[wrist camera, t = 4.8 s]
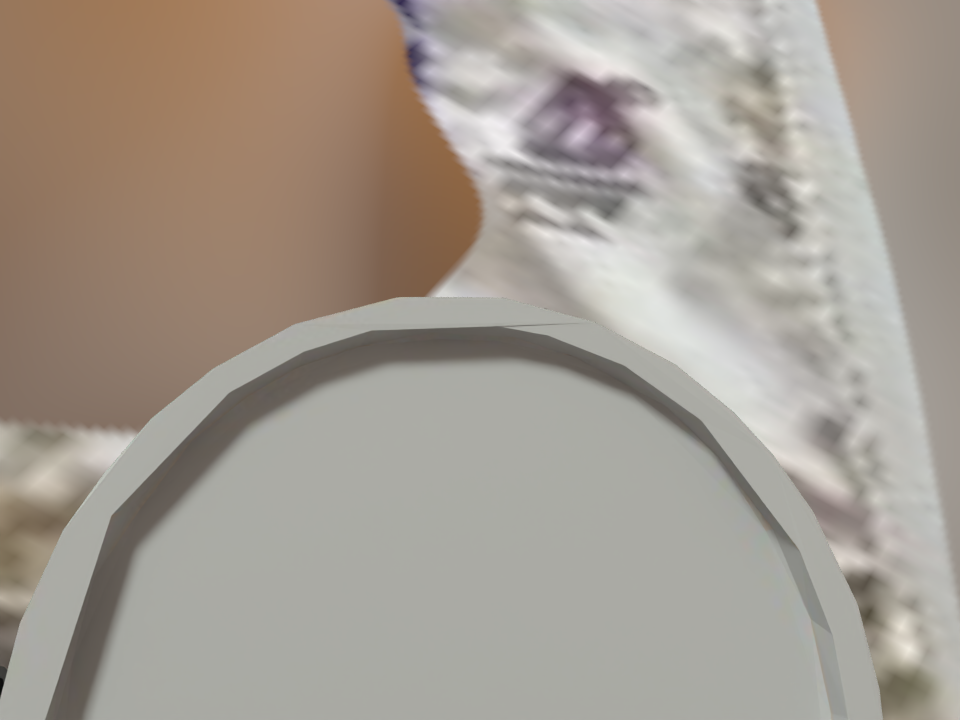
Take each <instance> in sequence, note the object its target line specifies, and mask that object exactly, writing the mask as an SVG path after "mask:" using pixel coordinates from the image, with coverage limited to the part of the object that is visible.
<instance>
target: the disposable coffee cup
mask: <svg viewBox="0 0 960 720" xmlns="http://www.w3.org/2000/svg"><path fill="white" fill-rule="evenodd" d="M0 720H883V717H882V708H881V700H880V691H879V686H878V682H877V678H876V674H875V670H874V666H873V663H872V659H871V655H870V651H869V647H868V643H867V639H866V636H865V632H864V628H863V624H862V620H861V616H860V612H859V608H858V605H857V602H856V600H855V598H854V596H853V594H852V592H851V590H850V588H849V586H848V584H847V581H846V579H845V577H844V575H843V573H842V571H841V569H840V567H839V565H838V563H837V561H836V559H835V556H834V554H833V552H832V550H831V548H830V546H829V544H828V542H827V540H826V538H825V536H824V534H823V532H822V529H821V527H820V525H819V523H818V521H817V519H816V517H815V515H814V513H813V511H812V510H811V508H810V507H809V505H808V504H807V503H806V501H805V500H804V498H803V497H802V495H801V494H800V493H799V491H798V490H797V488H796V487H795V485H794V484H793V483H792V481H791V480H790V478H789V477H788V475H787V474H786V472H785V471H784V470H783V468H782V467H781V465H780V464H779V462H778V461H777V460H776V458H775V457H774V455H773V454H772V453H771V452H770V451H769V450H768V449H767V448H766V447H765V446H764V444H763V443H762V442H761V441H760V440H759V439H758V438H757V437H756V436H755V435H754V434H753V433H752V431H751V430H750V429H749V428H748V427H747V426H746V425H745V424H744V423H743V422H742V421H741V420H740V418H739V417H738V416H737V415H736V414H735V413H734V412H733V411H732V410H730V409H729V408H728V407H727V406H726V405H724V404H723V403H722V402H721V401H719V400H718V399H717V398H716V397H715V396H713V395H712V394H711V393H710V392H709V391H707V390H706V389H705V388H704V387H702V386H701V385H700V384H699V383H698V382H696V381H695V380H694V379H693V378H691V377H690V376H689V375H688V374H687V373H685V372H684V371H683V370H682V369H680V368H679V367H678V366H677V365H675V364H673V363H672V362H670V361H668V360H666V359H664V358H662V357H660V356H658V355H656V354H655V353H653V352H651V351H649V350H647V349H645V348H643V347H641V346H639V345H638V344H636V343H634V342H632V341H630V340H628V339H626V338H624V337H623V336H621V335H619V334H617V333H615V332H613V331H611V330H609V329H607V328H606V327H604V326H602V325H600V324H598V323H596V322H592V321H588V320H585V319H581V318H577V317H573V316H570V315H566V314H562V313H559V312H555V311H551V310H547V309H544V308H540V307H536V306H532V305H529V304H525V303H521V302H518V301H514V300H510V299H506V298H473V297H397V298H393V299H390V300H386V301H382V302H378V303H374V304H370V305H366V306H363V307H359V308H355V309H351V310H348V311H344V312H340V313H336V314H333V315H328V316H325V317H321V318H317V319H313V320H309V321H306V322H302V323H298V324H294V325H292V326H291V327H289V328H287V329H285V330H283V331H281V332H280V333H278V334H276V335H274V336H272V337H270V338H269V339H267V340H265V341H263V342H261V343H259V344H257V345H256V346H254V347H252V348H250V349H248V350H246V351H245V352H243V353H241V354H239V355H237V356H235V357H234V358H232V359H230V360H228V361H226V362H224V363H223V364H221V365H219V366H217V367H215V368H214V369H212V370H211V371H210V372H208V373H207V374H206V375H205V376H203V377H202V378H201V379H200V380H198V381H197V382H196V383H195V384H194V385H192V386H191V387H190V388H189V389H187V390H186V391H185V392H184V393H182V394H181V395H180V396H179V397H178V398H176V399H175V400H174V401H172V402H171V403H170V404H169V405H167V406H166V407H165V408H164V409H163V410H161V411H160V412H159V413H158V414H157V415H155V416H154V417H153V418H151V420H150V421H149V422H148V423H147V424H146V425H145V427H144V428H143V429H142V430H141V431H140V432H139V434H138V435H137V436H136V437H135V438H134V439H133V441H132V442H131V443H130V444H129V445H128V446H127V448H126V449H125V450H124V451H123V452H122V453H121V455H120V456H119V457H118V458H117V459H116V460H115V462H114V463H113V464H112V465H111V466H110V467H109V469H108V470H107V471H106V472H105V473H104V474H103V476H102V477H101V479H100V480H99V481H98V483H97V484H96V486H95V487H94V488H93V490H92V491H91V492H90V494H89V495H88V497H87V498H86V499H85V501H84V502H83V504H82V505H81V506H80V508H79V509H78V510H77V512H76V513H75V515H74V516H73V517H72V519H71V520H70V522H69V523H68V524H67V526H66V527H65V528H64V530H63V532H62V534H61V536H60V538H59V541H58V543H57V545H56V547H55V549H54V551H53V553H52V556H51V558H50V560H49V562H48V564H47V566H46V569H45V571H44V573H43V575H42V577H41V579H40V581H39V584H38V586H37V588H36V590H35V592H34V594H33V596H32V599H31V601H30V603H29V605H28V607H27V609H26V612H25V614H24V616H23V618H22V620H21V622H20V625H19V629H18V633H17V637H16V641H15V644H14V648H13V652H12V656H11V659H10V663H9V667H8V671H7V675H6V678H5V682H4V686H3V690H2V693H1V697H0Z"/></svg>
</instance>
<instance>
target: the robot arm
mask: <svg viewBox="0 0 960 720" xmlns="http://www.w3.org/2000/svg"><path fill="white" fill-rule="evenodd" d="M7 671H8V670H7V669H6V668H4V667H2V666H0V697H1V693H2V690H3V686H4V682H5V678H6V675H7Z"/></svg>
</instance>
